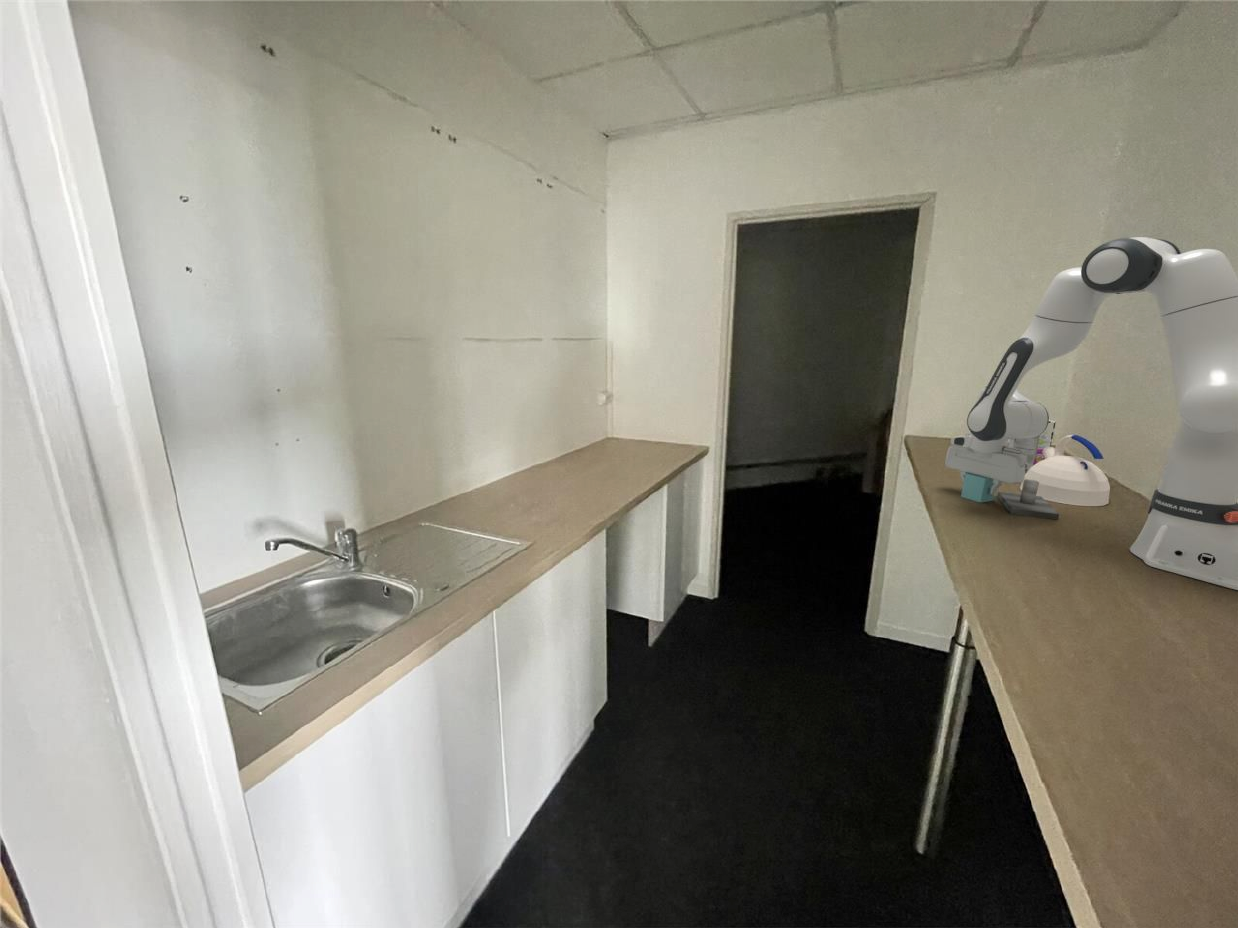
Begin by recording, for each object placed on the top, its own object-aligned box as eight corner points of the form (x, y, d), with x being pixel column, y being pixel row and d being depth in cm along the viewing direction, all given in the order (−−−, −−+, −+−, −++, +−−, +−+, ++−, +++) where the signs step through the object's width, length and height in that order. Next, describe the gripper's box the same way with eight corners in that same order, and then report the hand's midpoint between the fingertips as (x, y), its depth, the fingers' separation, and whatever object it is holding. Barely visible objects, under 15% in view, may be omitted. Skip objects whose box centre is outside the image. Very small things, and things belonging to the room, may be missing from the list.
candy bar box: (1040, 464, 187) (1050, 419, 183) (1046, 467, 182) (1057, 421, 178) (1004, 461, 190) (1013, 417, 186) (1009, 465, 186) (1018, 419, 181)
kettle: (1073, 486, 162) (1086, 429, 158) (1129, 508, 142) (1146, 444, 138) (1003, 483, 164) (1015, 427, 159) (1049, 505, 144) (1064, 442, 139)
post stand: (997, 496, 151) (1002, 471, 149) (1039, 501, 147) (1045, 475, 145) (1010, 513, 137) (1016, 486, 135) (1058, 519, 133) (1064, 491, 131)
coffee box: (1007, 469, 180) (1017, 423, 176) (1031, 472, 176) (1041, 426, 172) (1006, 475, 173) (1016, 427, 169) (1031, 478, 169) (1041, 430, 165)
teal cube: (993, 500, 148) (998, 476, 146) (980, 502, 146) (985, 478, 144) (974, 494, 153) (978, 471, 151) (961, 496, 151) (965, 473, 149)
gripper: (1035, 450, 137) (1024, 500, 141) (960, 435, 155) (952, 479, 159) (1020, 452, 135) (1009, 502, 138) (945, 436, 153) (938, 481, 156)
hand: (978, 490), depth 149 cm, fingers closed on teal cube, 6 cm apart
